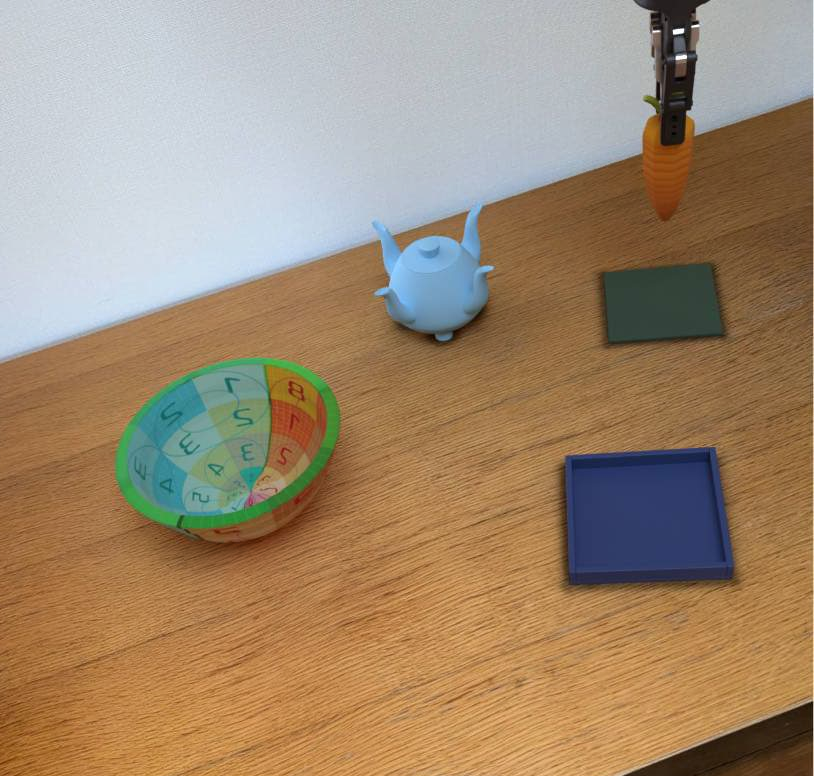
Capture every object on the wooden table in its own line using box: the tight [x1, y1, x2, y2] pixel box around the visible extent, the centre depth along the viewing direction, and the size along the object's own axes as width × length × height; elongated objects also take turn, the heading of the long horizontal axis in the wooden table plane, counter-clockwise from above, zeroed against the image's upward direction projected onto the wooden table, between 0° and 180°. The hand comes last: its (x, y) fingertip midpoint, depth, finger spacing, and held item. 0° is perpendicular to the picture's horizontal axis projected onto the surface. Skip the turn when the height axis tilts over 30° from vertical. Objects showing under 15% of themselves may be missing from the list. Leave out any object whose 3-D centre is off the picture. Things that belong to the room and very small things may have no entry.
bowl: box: [114, 357, 341, 543], centre depth 99 cm, size 22×22×10 cm
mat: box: [603, 262, 724, 345], centre depth 111 cm, size 12×12×1 cm
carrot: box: [641, 92, 696, 223], centre depth 97 cm, size 5×5×15 cm
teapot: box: [371, 202, 495, 342], centre depth 112 cm, size 13×13×10 cm
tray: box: [564, 446, 735, 586], centre depth 92 cm, size 14×14×2 cm
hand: (669, 126), depth 94 cm, fingers closed on carrot, 5 cm apart
